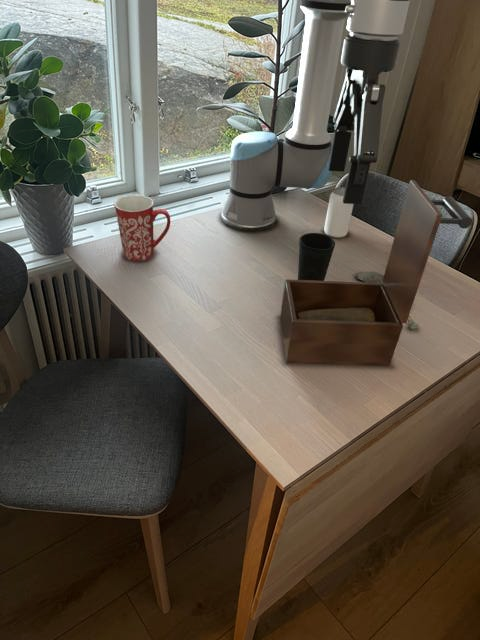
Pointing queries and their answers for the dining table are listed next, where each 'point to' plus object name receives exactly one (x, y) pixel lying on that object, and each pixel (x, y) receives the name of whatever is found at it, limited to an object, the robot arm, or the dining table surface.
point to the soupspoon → (378, 278)
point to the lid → (416, 244)
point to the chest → (338, 324)
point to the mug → (138, 226)
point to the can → (337, 214)
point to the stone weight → (338, 314)
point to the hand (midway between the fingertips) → (343, 185)
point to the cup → (314, 256)
